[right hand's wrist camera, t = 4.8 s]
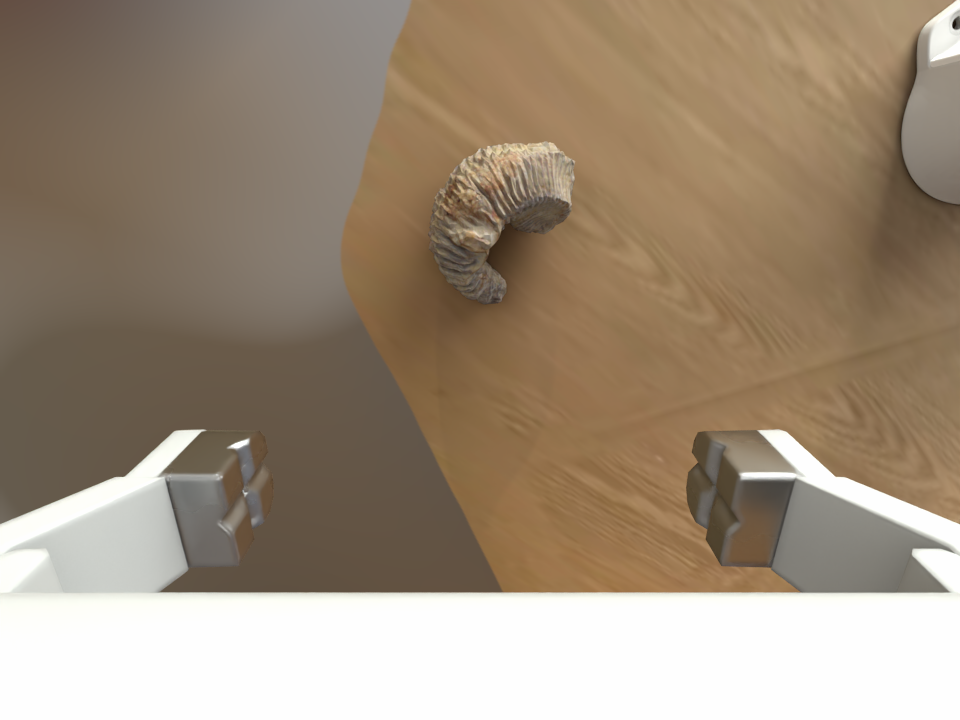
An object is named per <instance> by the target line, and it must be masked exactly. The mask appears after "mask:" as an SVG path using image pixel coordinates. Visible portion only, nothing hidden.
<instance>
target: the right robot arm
mask: <svg viewBox="0 0 960 720" xmlns="http://www.w3.org/2000/svg"><path fill="white" fill-rule="evenodd" d="M954 19H955V21H956V26H955V28H954V29H953V28H952V23H953V21H954ZM901 143H902V153H903V157H904V161H905V164H906V167H907V169H908V172H909V174H910V175H911V177H912V179H913V180H914V181H915V183H916V184H917V185H918V186H919V187H920V188H921V189H922V190H923V191H924V192H926V193H927V194H928V195H930V196H932V197H934V198H936V199H938V200H940V201H943V202H947V203H952V204H960V0H956V1H955V2H954V3H952V4H951V5H950V6H949V7H947V8H946V9H945V10H943V11H942V12H941V13H939V14H938V15H937V16H935V17H934V18H933V19H932V20H930V21H929V22H928V23H927V24H926V25H925V26H924V27H923V29H922V30H921V32H920V35H919V38H918V44H917V75H916V79H915V83H914V86H913V89H912V91H911V94H910V97H909V100H908V103H907V106H906V109H905V113H904V117H903V123H902V132H901ZM267 453H268V449H267V445H266V440H265V436H264V435H263V434H262V433H261V432H260V431H221V430H207V431H206V430H180V431H174V432H173V433H172V434H171V435H170V436H169V437H168V438H167V439H166V440H165V441H163V442H162V443H161V444H160V445H159V446H158V447H157V448H156V449H155V450H154V451H152V452H151V453H150V454H149V455H148V456H147V457H146V458H145V459H144V460H143V461H142V462H140V463H139V464H138V465H137V466H136V467H135V468H134V469H133V470H132V471H131V472H130V473H128V474H127V475H126V476H125V477H115V478H112V479H110V480H107V481H105V482H103V483H100V484H98V485H95V486H93V487H91V488H88V489H85V490H83V491H81V492H78V493H76V494H73V495H71V496H69V497H66V498H63V499H61V500H59V501H56V502H54V503H51V504H49V505H46V506H44V507H42V508H39V509H37V510H34V511H32V512H29V513H27V514H24V515H22V516H20V517H17V518H15V519H12V520H10V521H7V522H5V523H2V524H0V720H960V524H957V523H955V522H952V521H950V520H948V519H945V518H943V517H940V516H938V515H935V514H933V513H931V512H928V511H926V510H923V509H921V508H918V507H916V506H913V505H911V504H909V503H906V502H904V501H901V500H899V499H896V498H894V497H892V496H889V495H887V494H884V493H882V492H879V491H877V490H874V489H872V488H870V487H867V486H865V485H862V484H860V483H857V482H855V481H853V480H850V479H848V478H845V477H835V476H834V475H833V474H832V473H830V472H829V471H828V470H827V469H826V468H825V467H824V466H823V465H822V464H821V463H820V462H819V461H817V460H816V459H815V458H814V457H813V456H812V455H811V454H810V453H809V452H808V451H807V450H805V449H804V448H803V447H802V446H801V445H800V444H799V443H798V442H797V441H796V440H795V439H794V438H792V437H791V436H790V435H789V434H788V433H787V432H785V431H782V430H744V431H704V432H698V433H697V435H696V437H695V440H694V444H693V449H692V453H693V455H694V456H695V458H696V459H697V461H698V463H697V464H696V465H695V466H694V467H693V468H692V469H691V470H690V471H689V472H688V479H687V486H686V491H687V502H688V505H689V509H690V512H691V514H692V516H693V518H694V520H695V521H696V523H698V524H700V525H701V526H703V527H704V528H706V529H708V530H707V535H706V541H707V542H708V544H709V546H710V547H711V549H712V551H713V552H714V554H715V556H716V558H717V559H718V561H719V563H720V564H721V566H736V567H772V568H771V570H772V571H774V572H775V573H776V574H778V575H779V576H780V577H782V578H783V579H784V580H786V581H787V582H788V583H790V584H791V585H792V586H794V587H795V588H796V589H798V590H799V591H800V592H802V593H159V592H160V591H161V590H162V589H164V588H165V587H166V586H168V585H169V584H170V583H172V582H173V581H174V580H176V579H177V578H178V577H180V576H181V575H182V574H184V573H185V572H186V571H188V567H222V566H239V564H240V563H241V561H242V559H243V558H244V556H245V554H246V552H247V551H248V549H249V547H250V546H251V544H252V542H253V540H254V535H253V530H252V529H254V528H256V527H257V526H259V525H260V524H262V523H264V521H265V519H266V518H267V516H268V514H269V512H270V509H271V504H272V500H273V478H272V472H271V471H270V470H269V469H268V468H267V467H266V466H265V465H264V464H263V463H262V461H263V459H264V458H265V456H266V454H267Z"/></svg>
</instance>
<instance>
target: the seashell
mask: <svg viewBox="0 0 960 720" xmlns="http://www.w3.org/2000/svg"><path fill="white" fill-rule="evenodd" d="M574 164H575V161H574V160H572V159H570V158H568V157H566V156H565V154H564V153H563V151H562V152H560V150H559V149H558V148H557V147H556V146H555V145H554V143H547V142H543V143H540V142H539V143H537V144H535V143H533V144H531V143H529V144H528V145H524V144H522V143H521V144H512V145H511V144H503V145H498V146H487V148H486V150H485V149H482V148H480V149H479V150H478V152H477V153H475V154H474V155H473V156H469V157H467V158H466V159H464V160H463V162H462V163H461V164H460V165H457V167H456V168H455V169H454V171H453V172H452V173H451V174H450V177H449V180H448V181H447V182H446V184H445V187H444V189H440V190H439V192H438V193H437V194H436V197H435V198H434V199H435V202H434V206H433V208H432V211H433V212H434V213H433V214H432V216H431V221H430V227H429V228H430V231H429V233H428V235H429V237H430V238H431V242H430V245H429V250H431V252H433V253H434V259H435V260H436V262H437V264H439V270H440V271H441V273H442V274H444V276H446V280H447V282H449V283H450V284H452V285H453V287H454V288H455V289H456V290H458V291H460V292H461V293H462V295H464V296H466V298H467V299H470V300H475V299H476V300H477V301H478V302H479V303H482V304H493V303H499V302H501V301H502V297H503V296H504V295H505V294H506V292H507V290H506V286H507V284H506V281H505V280H504V279H503V278H502V277H501V276H500V274H499V273H498V272H497V271H496V270H495V269H493V268H492V267H491V265H489V264H488V263H487V262H486V260H487V258H488V254H489V249H490V248H491V247H492V246H493V245H494V244H495V243H496V242H497V240H498V239H499V237H500V234H501V230H504V228H505V227H504V225H505V224H508V223H510V224H511V225H512V227H513V228H514V229H516V230H520V231H525V232H529V233H531V232H535V233H540V234H545V233H547V232H548V231H550V230H552V229H553V228H554V226H555V225H557V224H559V223H561V222H563V221H564V220H565V219H566V218H567V217H568V216H569V214H570V212H571V206H572V204H571V200H570V198H571V195H572V188H573V184H574V179H575V177H574V173H573V169H574Z"/></svg>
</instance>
